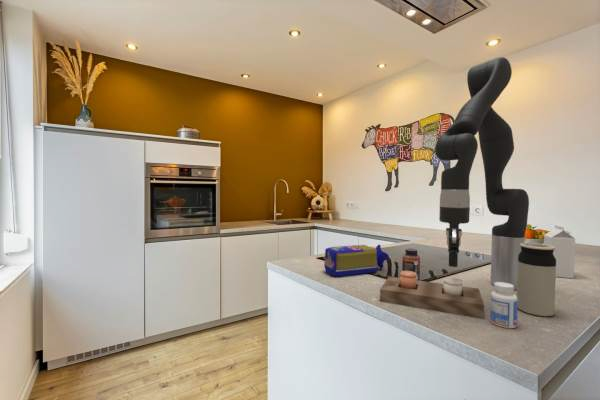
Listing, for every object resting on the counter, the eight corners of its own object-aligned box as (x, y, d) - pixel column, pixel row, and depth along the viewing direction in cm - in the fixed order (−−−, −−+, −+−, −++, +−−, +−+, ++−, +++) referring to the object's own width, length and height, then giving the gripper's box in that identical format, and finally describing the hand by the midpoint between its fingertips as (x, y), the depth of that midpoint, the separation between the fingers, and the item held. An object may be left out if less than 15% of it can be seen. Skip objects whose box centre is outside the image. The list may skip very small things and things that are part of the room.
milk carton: (550, 276, 111) (551, 226, 110) (542, 271, 117) (544, 224, 117) (574, 279, 108) (575, 228, 107) (565, 273, 115) (566, 225, 114)
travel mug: (543, 319, 74) (545, 249, 73) (510, 307, 81) (512, 243, 81) (560, 314, 77) (563, 246, 77) (527, 303, 84) (529, 241, 84)
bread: (321, 271, 117) (321, 246, 117) (373, 266, 126) (374, 242, 125) (333, 278, 107) (333, 251, 107) (388, 272, 116) (389, 246, 116)
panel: (478, 300, 87) (478, 288, 87) (483, 318, 74) (484, 305, 74) (388, 286, 98) (388, 276, 98) (380, 300, 86) (380, 289, 86)
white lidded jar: (461, 295, 85) (461, 278, 84) (461, 300, 81) (462, 283, 80) (443, 292, 87) (443, 276, 87) (443, 297, 83) (443, 280, 82)
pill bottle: (506, 318, 74) (507, 280, 74) (522, 328, 69) (524, 288, 69) (485, 318, 74) (486, 280, 74) (500, 328, 69) (501, 288, 69)
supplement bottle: (421, 283, 102) (421, 251, 102) (403, 282, 103) (403, 250, 103) (417, 278, 108) (418, 248, 108) (401, 277, 109) (401, 247, 109)
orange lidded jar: (416, 287, 90) (417, 271, 90) (415, 292, 86) (415, 275, 86) (401, 285, 92) (401, 269, 92) (399, 289, 88) (399, 273, 88)
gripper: (471, 207, 75) (469, 273, 76) (468, 204, 87) (466, 262, 88) (439, 206, 78) (437, 270, 79) (440, 204, 90) (438, 259, 91)
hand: (452, 266), depth 83 cm, fingers closed
